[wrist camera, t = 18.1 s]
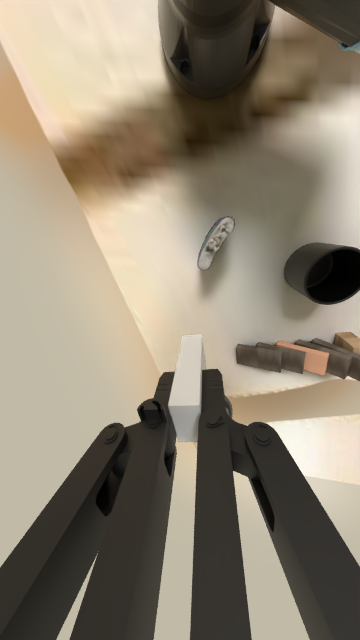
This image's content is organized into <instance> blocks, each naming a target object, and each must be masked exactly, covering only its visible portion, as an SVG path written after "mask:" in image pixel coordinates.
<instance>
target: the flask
mask: <svg viewBox="0 0 360 640" xmlns="http://www.w3.org/2000/svg"><path fill="white" fill-rule="evenodd" d="M234 226H235V219H233V218H232V217H230V216H227V217H224V218H221V219H219V220H218V221H217V222H216V223H215V224H214V226H213V227H212V228H211V230H210V231H209V233H208V235H207V236H206V239H205V241H204V243H203V245H202V247H201V250H200V253H199V256H198V262H197V263H198V264H197V265H198V267H199V268H200V269H201V270H207V269H208V268H209V267H210V266H211V264H212V261H213V259H214V256H215V254H216V253H217V251H218V249H219V248H220V246H221V244H222V243H223V241H224V240H225V239H226V237H227V236H228V235H229V234H230V233H231V232H232V231H233V229H234Z"/></svg>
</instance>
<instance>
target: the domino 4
mask: <svg viewBox="0 0 360 640" xmlns="http://www.w3.org/2000/svg"><path fill="white" fill-rule="evenodd" d="M296 345H298V346H302V347H306V348H310V349H314V350H318V351H322V352H326V353H329V357H328V362H327V367H326V372H327V373H330V374H332V375H335V376H337V377H340V378H342V379H345V378H346V377H347V375H348V372H349V368H350V364H351V360H352V356H350V355H347V354H344V353H340V352H337V351H334V350H331V349H328V348H325V347H321V346H318V345H315V344H312V343H309V342H306V341H303V340H298V341H297V342H296Z"/></svg>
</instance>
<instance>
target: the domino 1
mask: <svg viewBox="0 0 360 640" xmlns="http://www.w3.org/2000/svg"><path fill="white" fill-rule="evenodd" d="M237 363H238V364H242V365H247V366H252V367H256V368H261V369H265V370H270V371H274V372H279V373H280V372H281V365H282V351H278V350H272V349H265V348H259V347H253V346H247V345H241V344H238V346H237Z"/></svg>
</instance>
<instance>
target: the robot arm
mask: <svg viewBox="0 0 360 640" xmlns="http://www.w3.org/2000/svg"><path fill="white" fill-rule="evenodd" d="M275 5H276V6H278V7H280V8H281V9H283V10H285V11H286V12H288V13H290V14H292V15H293V16H295V17H297V18H298V19H300V20H302V21H303V22H305V23H307V24H309V25H310V26H312V27H314V28H315V29H317V30H319V31H321V32H322V33H324V34H326V35H327V36H329V37H331V38H333V39H334V40H336V41H338V46H339V48H340V49H342V50H344V51H352V50H354V51H356V52H358V53H360V0H158V18H159V29H160V35H161V40H162V44H163V49H164V53H165V57H166V60H167V63H168V65H169V68H170V70H171V72H172V74H173V76H174V77H175V79H176V80H177V82H178V83H179V84H180V85H181V86H182V87H183V88H184V89H185V90H186V91H187V92H189V93H190V94H192V95H194V96H197V97H200V98H216V97H220V96H222V95H225V94H227V93H228V92H230V91H232V90H233V89H234V88H236V87H237V86H238V85H239V84H240V83H241V82H242V81H243V80H244V79H245V78H246V77H247V75H248V74H249V73H250V71H251V70H252V68H253V67H254V65H255V63H256V62H257V60H258V58H259V56H260V53H261V51H262V49H263V46H264V44H265V41H266V38H267V35H268V31H269V28H270V25H271V22H272V18H273V14H274V9H275ZM137 411H138V414H139V416H140V419H141V422H139V423H137V424H134V425H131V426H128V427H125V428H124V426H123V425H122V424H120V423H113V424H110V425H108V426H107V427H105V428H104V429H103V430H102V431H101V432H100V434H99V435H98V436H97V438H96V439H95V440H94V442H93V443H92V444H91V446H90V447H89V449H88V450H87V451H86V453H85V454H84V455H83V457H82V458H81V459H80V461H79V462H78V463H77V465H76V466H75V467H74V469H73V470H72V471H71V473H70V474H69V476H68V477H67V478H66V480H65V481H64V482H63V484H62V485H61V486H60V488H59V489H58V490H57V492H56V493H55V494H54V496H53V497H52V499H51V500H50V501H49V503H48V504H47V505H46V507H45V508H44V509H43V511H42V512H41V513H40V515H39V516H38V517H37V519H36V520H35V521H34V523H33V524H32V526H31V527H30V528H29V530H28V531H27V532H26V534H25V535H24V536H23V538H22V539H21V540H20V542H19V543H18V544H17V546H16V547H15V549H14V550H13V551H12V553H11V554H10V555H9V557H8V558H7V559H6V561H5V562H4V563H3V565H2V566H1V567H0V640H56V639H57V636H58V634H59V632H60V630H61V628H62V626H63V624H64V621H65V620H66V618H67V616H68V613H69V612H70V609H71V607H72V605H73V603H74V601H75V599H76V597H77V594H78V593H79V591H80V589H81V586H82V585H83V582H84V580H85V578H86V576H87V574H88V572H89V570H90V568H91V566H92V564H93V562H94V560H95V557H96V555H97V553H98V555H97V558H96V561H95V564H94V567H93V570H92V573H91V576H90V579H89V582H88V585H87V588H86V591H85V594H84V598H83V600H82V604H81V606H80V610H79V613H78V616H77V619H76V622H75V625H74V628H73V631H72V634H71V637H70V640H153V639H154V631H155V623H156V614H157V607H158V599H159V591H160V582H161V575H162V567H163V558H164V550H165V542H166V535H167V526H168V518H169V510H170V502H171V494H172V486H173V478H174V470H175V462H176V454H177V453H176V446H175V443H176V436H177V440H178V442H198V446H197V472H196V499H195V525H194V551H193V577H192V578H193V579H192V603H191V605H192V606H191V631H190V640H252V639H251V630H250V622H249V612H248V603H247V594H246V586H245V576H244V567H243V558H242V550H241V540H240V531H239V523H238V515H237V504H236V495H235V487H234V478H233V471H236V472H238V473H240V474H242V475H245V476H247V477H248V478H249V481H250V483H251V486H252V489H253V491H254V494H255V497H256V499H257V502H258V505H259V507H260V510H261V513H262V515H263V518H264V520H265V523H266V526H267V528H268V531H269V533H270V536H271V539H272V541H273V544H274V547H275V549H276V552H277V555H278V557H279V560H280V563H281V565H282V568H283V570H284V573H285V576H286V578H287V581H288V583H289V586H290V589H291V591H292V594H293V596H294V599H295V602H296V605H297V607H298V609H299V612H300V615H301V618H302V620H303V623H304V625H305V628H306V631H307V633H308V636H309V638H310V640H360V566H359V565H358V563H357V562H356V560H355V558H354V557H353V555H352V554H351V552H350V551H349V549H348V547H347V546H346V544H345V542H344V541H343V539H342V537H341V536H340V534H339V532H338V531H337V530H336V528H335V526H334V524H333V523H332V521H331V520H330V518H329V516H328V515H327V513H326V511H325V510H324V508H323V507H322V505H321V503H320V502H319V500H318V498H317V497H316V495H315V494H314V492H313V490H312V489H311V487H310V485H309V484H308V482H307V481H306V479H305V477H304V476H303V474H302V472H301V471H300V469H299V468H298V466H297V464H296V463H295V461H294V459H293V458H292V456H291V455H290V453H289V451H288V450H287V448H286V446H285V445H284V443H283V442H282V440H281V438H280V437H279V435H278V434H277V432H276V431H275V430H274V429H273V428H272V427H271V426H269V425H268V424H265V423H262V422H253V423H252V424H249V425H248V426H246V425H243V424H239V423H237V422H235V421H234V420H232V419H231V418H230V417H229V416H228V414H227V412H226V407H225V398H224V390H223V381H222V374H221V373H220V371H219V370H218V369H209V370H206V360H205V353H204V346H203V339H202V334H193V335H183V337H182V342H181V346H180V351H179V356H178V361H177V365H176V370H175V372H164V373H163V375H162V376H161V377H160V379H159V382H158V386H157V389H156V392H155V395H154V398H153V399H148V400H146V401H144V402H143V403H142V404H141V405H140V406H139V407H138V409H137ZM98 551H99V552H98Z"/></svg>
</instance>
